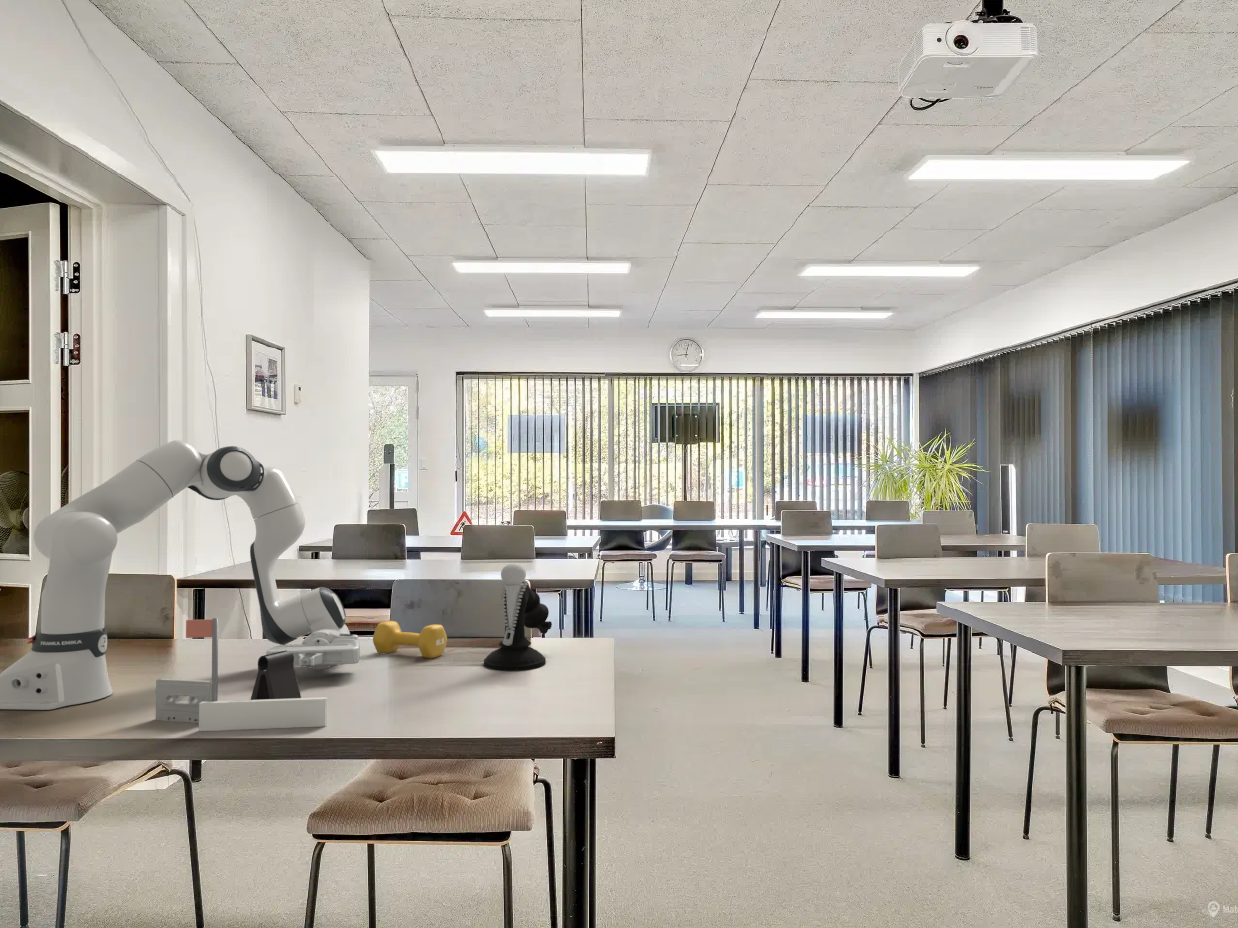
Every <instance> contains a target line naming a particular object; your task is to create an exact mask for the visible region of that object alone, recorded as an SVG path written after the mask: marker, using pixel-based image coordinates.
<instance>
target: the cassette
mask: <svg viewBox="0 0 1238 928" xmlns="http://www.w3.org/2000/svg"><path fill="white" fill-rule="evenodd" d="M182 696H183V697H188V701H184V700H182ZM208 701H212V680H201V679H199V680H198V679H181V678H179V679H178V678H177V679H176V678H158V679H156V681H155V720H156V721H163V722H177V723H178V722H181V723H182V722H183V723H196V724H197V723H198V724H199V703H201V702H208Z"/></svg>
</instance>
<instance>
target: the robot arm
mask: <svg viewBox="0 0 1238 928" xmlns="http://www.w3.org/2000/svg"><path fill="white" fill-rule="evenodd" d="M186 488H188V489H190V490H192V491H194V492H195V493H197V494H198V495H199V496H201V497H203V498H205V499H207V500H211V501H221V500H225V499H228V498H230V497H232V496H237V497H239V498H240V499H242V500H243V501H244V502H245V504H246V505H247V506H248V508H249V511H250V514H251V516H252V518H253V521H254V525H255V538H254V541H253V542H252V543H251V544H250V546H249V547H250V548H249V554H250V556H249V557H250V564H251V570H252V575H253V581H254V586H255V590H256V594H257V601H258V605H259V612H260V621H261V628H262V632H263V634H264V636H265V638H266V639H267V641H269V642H271V643H274V644H276V646H274V647H272V648H271V647H270V648H269V649H268V650H266V652H265V655H268V654H272V653H277V652H281V651H285V650H287V651H291V652H292V653H293V655H294V667H295V666H298V667H309V668H311V669H313V670H324V669H327V668H331V667H336V666H339V665H356V664H359V663H360V657H361V656H360V655H361V651H360V648H361V647H360V640H359V635H357V634H353V633H352V634H351V632H350V630H349V628H348V626H347V624H345V623H346V620H347V615H346V610H345V608H344V604H343V602H342V600H341V598H340V597H339V595H338V594H337V593H336V592H334V591H333V590H331V589H330V588H327V587H326V586H325V587H324V586H320V587H317V588H314V589H312V590H309V591H307V592H304V593H302V594H300V595H297V596H294V597H292V598H289V599H286V600H284V601H282V600H280V597H279V592H278V586H277V583H276V577H275V573H274V571H275V570H274V567H275V564H276V562H277V560H278V559H279V558H280V556H281V555H282V554H283V553H284V552H286V551H287V550H288V549H289V548H290V547H291V546H293V545H294V544H295V543H296V542H297V541H298V539H300V537H301V536H302V535H303V532H304V531H305V526H306V519H305V516H304V511H303V509H302V506H301V504H300V501H299V499H298V496H297V495H296V493H295V490H294V488H293V487H292V485H291V483H290V482H289V479H288V478H287V477H286V475H285V473H284V472H283V471H282V470H281V469H279V468H276V467H273V466H265V467H264V465H263V464H262V463H261V462H260V461H258V460H257V459H256V458H255V457H254V455H253V454H251V452H249V451H247V450H246V449H245V448H243V447H240V446H235V445H232V446H231V445H230V446H224V447H220V448H218V449H216V450H215V451H213V452H211V453H208V454H205V453H202V452H200V451H198V450H197V449H196V448H195V447H194V446H193V445H191V444H190V443H188V442H186V441H183V440H177V439H176V440H172V441H169V442H166V443H164V444H162V445H160V446H158V447H156V448H154V449H153V450H151V451H149V452H147V453H146V454H144V455H142V456H141V457H139V458H138V459H136V460H135V461H133V462H132V463H130V464H129V465H128V466H126V467H124V469H122V470H121V471H119V472H117V473H116V474H115V475H113V476H112V477H110V478H109V479H107V480H106V481H104V482H103V483H101V484H99V485H98V486H96V487H95V488H92V489H91V490H89V491H87V492H85V493H84V494H82V495H80V496H79V497H77V498H75V499H73V500H72V501H70V502H68V503H67V504H65V505H63V506H62V507H61V508H58V509H57V510H55V511H54V512H52V513H50V514H49V515H48V516H46V517H44V518H43V519H42V520H40V521H39V523H38V524H37V525H36V527H35V529H34V532H33V540H34V541H33V542H34V544H35V547H36V548H37V549H38V552H40V553H41V555H43V557H45V558H46V559H47V558H48V559H49V566H48V571H47V577H46V580H45V584H44V588H43V591H42V593H41V601H40V602H41V604H40V605H41V608H40V610H41V611H40V613H41V614H40V620H41V621H40V632H38V633H36V634H34V635H32V636H31V637H28V638H26V640H27V642H26V644H27V645H29V644H31V649H30V651H29V652H28V653H26V654H25V655H24V656H22V657H21V658H19V659H18V660H16V661H15V662H14V663H13V664H11V665H9V666H8V667H7V668H6V669H5V670H3V671H2V672H1V673H0V710H30V711H31V710H34V711H35V710H36V711H39V710H41V711H46V710H47V711H49V710H55V709H58V708H63V707H67V706H73V705H79V704H84V703H89V702H93V701H97V700H100V699H103V698H107V697H109V696H110V695H112V694H113V693H114V692H113V691H114V690H113V688H112V685H111V682H110V677H109V674H108V668H107V667H108V666H107V660H106V653H107V649H108V628H107V627H106V626H105V611H106V610H105V609H106V588H107V583H108V577H109V572H110V568H111V565H112V564H111V563H112V556H113V553H114V550H115V549H116V547H117V544H118V534H120V533H121V532H123V531H125V530H126V529H129V528H130V527H132V526H134V525H136V524H138V523H141V522H142V521H143V520H145V519H147V518H148V517H149V516H151V515H152V514H153V513H155V512H156V511H157V510H158V509H159V508H162V506H163V505H164V504H166V503H167V502H168V501H170V500H171V499H173V498H174V497H175V496H176V495H178V494H179V493H180V492H182V491H183V490H185V489H186ZM306 635H307V636H306ZM304 636H306V637H305V638H304V639H303V640H302V642H301V644H300V643H299V644H289V643H291V642H294V641H296V640H298V639H300V638H301V637H304Z"/></svg>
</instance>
